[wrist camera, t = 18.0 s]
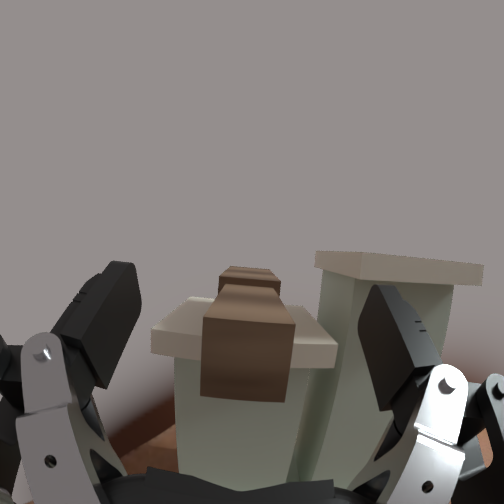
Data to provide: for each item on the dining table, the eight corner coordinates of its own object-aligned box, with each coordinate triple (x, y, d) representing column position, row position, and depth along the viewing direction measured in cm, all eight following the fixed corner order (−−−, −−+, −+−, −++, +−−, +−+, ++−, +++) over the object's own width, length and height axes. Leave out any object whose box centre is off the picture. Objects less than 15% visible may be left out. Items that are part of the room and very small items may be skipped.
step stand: (188, 448, 35) (194, 240, 34) (366, 449, 35) (409, 259, 35) (168, 516, 20) (155, 233, 19) (399, 506, 20) (483, 264, 20)
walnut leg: (227, 304, 32) (230, 266, 32) (265, 307, 32) (269, 269, 32) (187, 403, 10) (190, 301, 10) (295, 412, 10) (310, 312, 10)
